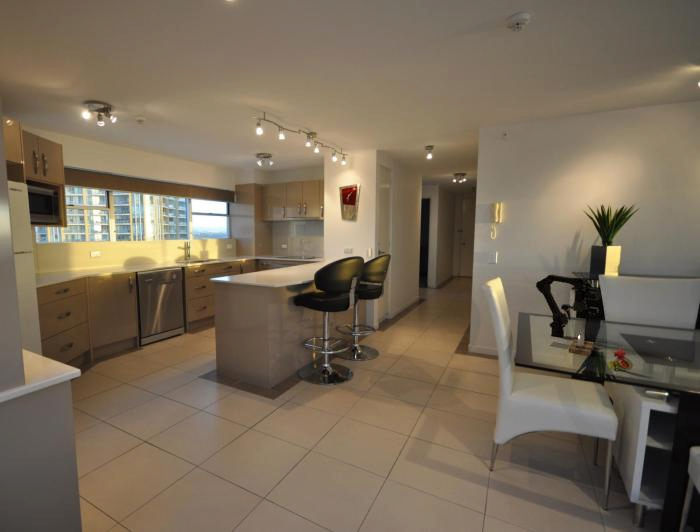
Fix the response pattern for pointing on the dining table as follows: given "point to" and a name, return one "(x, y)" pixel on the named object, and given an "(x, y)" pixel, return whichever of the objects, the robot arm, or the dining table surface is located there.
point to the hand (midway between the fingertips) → (578, 321)
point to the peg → (580, 341)
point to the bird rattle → (625, 362)
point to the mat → (560, 345)
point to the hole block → (586, 351)
